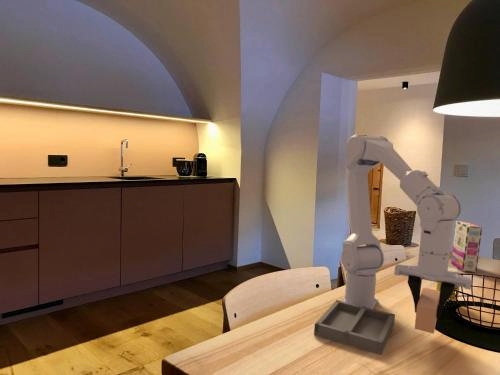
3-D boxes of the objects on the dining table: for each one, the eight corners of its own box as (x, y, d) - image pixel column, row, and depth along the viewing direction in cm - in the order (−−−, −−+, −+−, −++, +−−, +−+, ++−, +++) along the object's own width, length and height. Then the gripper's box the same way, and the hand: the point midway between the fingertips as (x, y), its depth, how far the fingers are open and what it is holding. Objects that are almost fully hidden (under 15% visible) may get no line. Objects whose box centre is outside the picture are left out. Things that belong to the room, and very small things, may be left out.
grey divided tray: (335, 309, 97) (336, 300, 96) (394, 324, 90) (395, 314, 90) (313, 334, 83) (314, 323, 82) (381, 354, 76) (382, 342, 76)
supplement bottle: (447, 309, 101) (451, 273, 100) (430, 301, 105) (434, 266, 104) (461, 306, 103) (465, 271, 102) (444, 299, 108) (448, 265, 107)
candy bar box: (477, 273, 134) (483, 227, 132) (462, 272, 134) (467, 226, 133) (464, 264, 145) (469, 221, 143) (450, 262, 145) (455, 220, 144)
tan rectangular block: (421, 308, 88) (423, 287, 87) (437, 312, 86) (440, 291, 85) (414, 328, 77) (417, 305, 77) (433, 333, 76) (436, 309, 75)
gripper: (394, 249, 80) (388, 311, 81) (474, 262, 73) (466, 330, 74) (399, 242, 86) (394, 300, 88) (473, 254, 79) (466, 317, 81)
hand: (427, 313), depth 81 cm, fingers closed on tan rectangular block, 3 cm apart
